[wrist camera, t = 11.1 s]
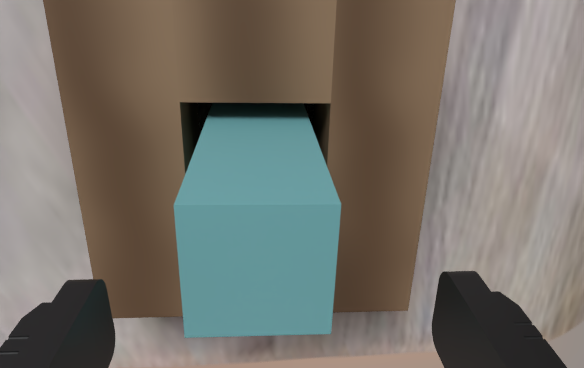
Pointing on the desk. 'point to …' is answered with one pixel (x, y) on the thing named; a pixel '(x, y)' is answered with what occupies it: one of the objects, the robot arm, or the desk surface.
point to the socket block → (249, 89)
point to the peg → (257, 225)
